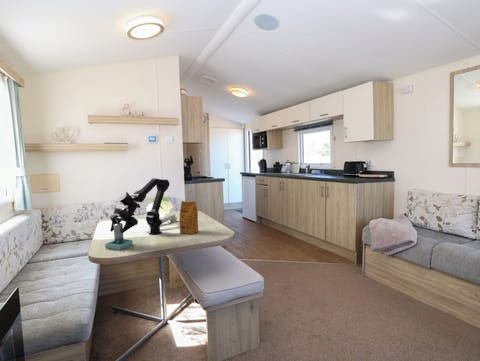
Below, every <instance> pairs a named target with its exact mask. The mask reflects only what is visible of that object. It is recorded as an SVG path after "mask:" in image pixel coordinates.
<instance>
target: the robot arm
mask: <svg viewBox="0 0 480 361" xmlns="http://www.w3.org/2000/svg"><path fill="white" fill-rule="evenodd" d="M170 185H171V184H170V181H169V180H168V179H160V178H153V177H152V178H151V179H150V180H149V181H148V182H147V183H146V184H145V185H144V186H143V187H142V188H141V189H138V190H137V191H134V192H133V193H132V194H129V192H127V191H124V192H123V193H121V194H119V195H118V197H117V201H119V202H120V203H121V204H122V205H123V206H125V207H122V208H120V207H119V208H117V207H115V208H114V211H113V214H111V215H110V216H109V219H110V220H111V226H110V232H114V226H113V224H116V223H122V222H124V223H125V224H124V226H123V229H122V231H121V233H123V234H124V233H125V232H127V231H128V230H130V229H131V228H133V227H135V226H137V225H138V224H139V221H138V219H136V218H135V214H136V213H135V212H136V210H137V209H140V208H141V206H140V205H141V204H140V203H142V202H144V200H146V198H147V194H148V193H150V192H151V191H152V190H153V188H155V187H156V194H155V197H154V199H153V200H154V201H153V203H152V204H153V205H152V207H151V209H150V211H147V213H146V215H145V221H146V223H147V225H148V226H149V225H150V227H149V230H150V232H149V233H148V235H154V236H155V235H156V236H157V235H160V234H161V233H162V231H161V228H160V226H161V225H162V224H163V223H162V221H161V220H160V219H161V218H160V208H161V205H162V202H163V199H164V195H165V192H166V191H168V190H169V187H170Z"/></svg>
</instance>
